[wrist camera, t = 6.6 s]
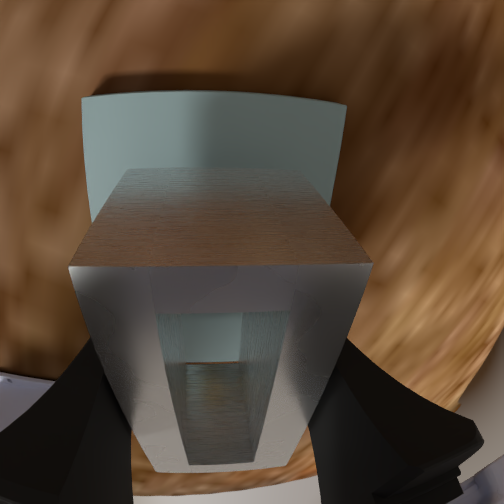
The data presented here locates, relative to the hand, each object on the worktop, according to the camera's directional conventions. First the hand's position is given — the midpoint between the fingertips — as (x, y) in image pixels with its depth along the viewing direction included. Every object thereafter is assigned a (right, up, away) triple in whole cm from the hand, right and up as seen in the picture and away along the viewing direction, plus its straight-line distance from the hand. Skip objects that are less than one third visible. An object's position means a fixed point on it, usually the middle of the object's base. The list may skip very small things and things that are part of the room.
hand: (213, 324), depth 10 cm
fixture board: (-1, +3, +4) cm, 5 cm away
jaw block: (0, +1, +1) cm, 2 cm away
